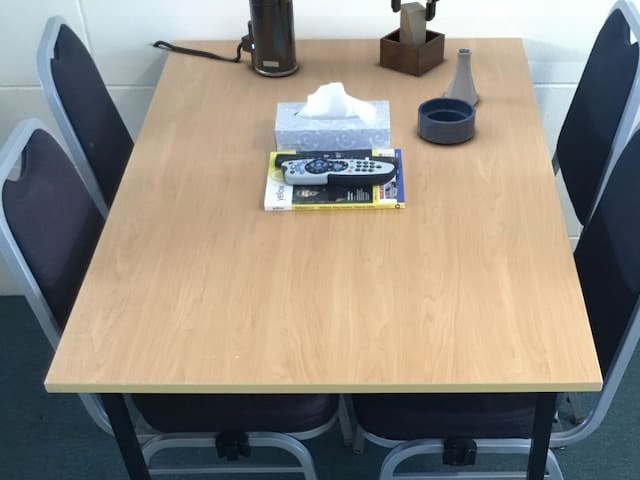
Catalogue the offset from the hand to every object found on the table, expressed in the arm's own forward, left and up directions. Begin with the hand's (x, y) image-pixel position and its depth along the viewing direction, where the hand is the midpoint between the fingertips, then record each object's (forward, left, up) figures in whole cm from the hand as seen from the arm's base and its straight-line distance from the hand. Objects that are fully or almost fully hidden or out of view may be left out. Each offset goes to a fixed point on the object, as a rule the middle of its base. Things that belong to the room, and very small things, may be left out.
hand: (412, 15), depth 186 cm
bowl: (+24, -24, -10) cm, 35 cm away
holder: (0, 0, -10) cm, 10 cm away
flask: (+19, -10, -10) cm, 24 cm away
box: (0, 0, -9) cm, 9 cm away
